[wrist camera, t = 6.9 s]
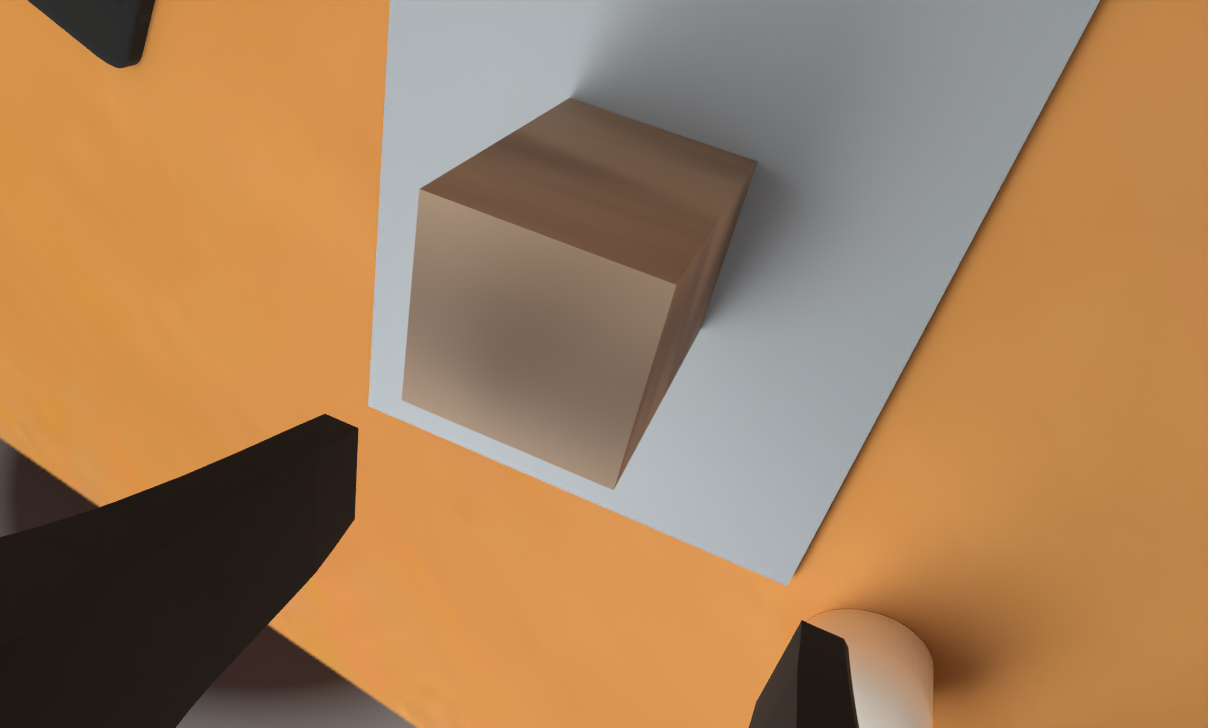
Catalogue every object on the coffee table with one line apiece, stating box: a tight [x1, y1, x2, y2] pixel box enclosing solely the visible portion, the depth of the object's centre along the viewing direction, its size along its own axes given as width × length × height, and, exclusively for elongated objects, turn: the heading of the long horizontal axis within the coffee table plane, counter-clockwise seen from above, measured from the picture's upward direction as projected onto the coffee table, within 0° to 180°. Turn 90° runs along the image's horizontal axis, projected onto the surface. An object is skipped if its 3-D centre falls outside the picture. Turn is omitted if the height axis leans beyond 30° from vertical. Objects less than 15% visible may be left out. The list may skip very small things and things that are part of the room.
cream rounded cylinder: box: [806, 609, 934, 728], centre depth 23 cm, size 4×4×4 cm
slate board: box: [368, 0, 1100, 586], centre depth 20 cm, size 18×14×1 cm
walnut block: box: [402, 98, 757, 490], centre depth 17 cm, size 4×4×6 cm
